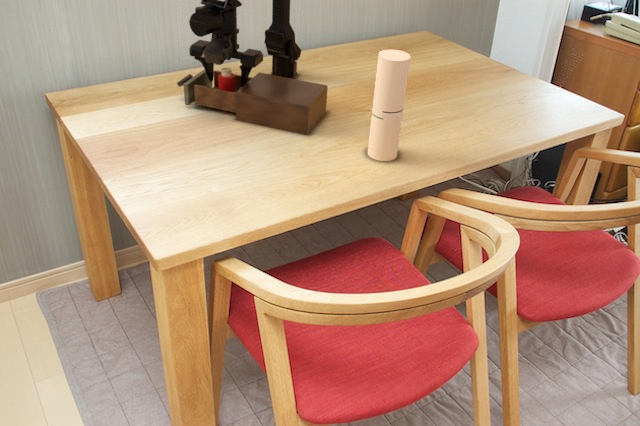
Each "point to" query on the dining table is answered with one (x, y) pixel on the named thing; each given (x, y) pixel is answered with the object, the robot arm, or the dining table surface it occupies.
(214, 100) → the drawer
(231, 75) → the ketchup bottle
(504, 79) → the dining table surface
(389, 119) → the cylindrical container
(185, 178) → the dining table surface
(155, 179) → the dining table surface
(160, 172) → the dining table surface
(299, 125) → the cabinet
